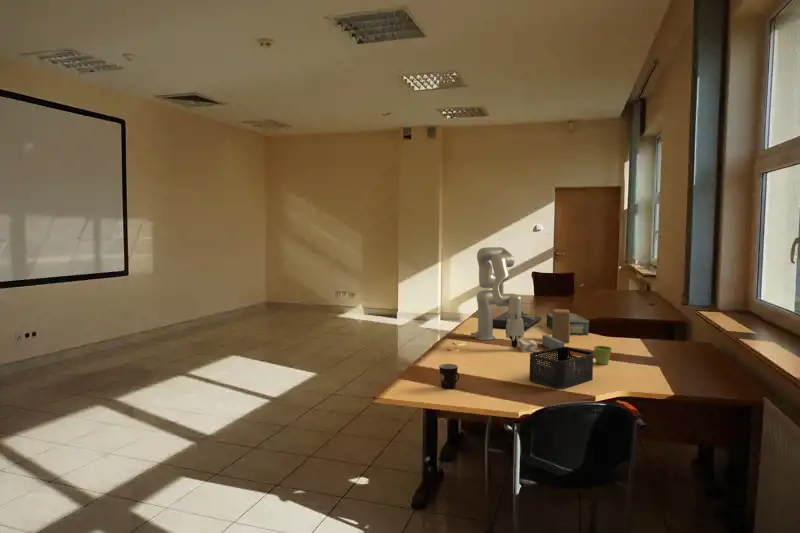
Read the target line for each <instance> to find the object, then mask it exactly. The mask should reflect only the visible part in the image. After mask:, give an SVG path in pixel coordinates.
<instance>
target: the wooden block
mask: <svg viewBox="0 0 800 533" xmlns="http://www.w3.org/2000/svg"><path fill="white" fill-rule="evenodd" d="M570 313H571V312H570V310H569V309H565V308H564V309H563V308H562V309H561V308H557V309H556V308H555V309H554V308H553V309H552V314H553V320H552V330H551V331H552V332H551V334H552V335H551V337H553V338H555V339H557V340H560V341H562V342H564V344H568V343H570V336H571V335H570Z"/></svg>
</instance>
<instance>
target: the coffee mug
mask: <svg viewBox="0 0 800 533" xmlns="http://www.w3.org/2000/svg"><path fill="white" fill-rule="evenodd" d="M438 367H439V376H440V377H439V378H440V386H441V389H443V388H444V390H447V389H451V390H454V388H456V385H457V382H458V381H459V380H460V375H459V374H460V373H458V368H459V366H458V365H457V364H453V363H442V364H439V366H438Z"/></svg>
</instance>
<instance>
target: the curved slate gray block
mask: <svg viewBox="0 0 800 533" xmlns="http://www.w3.org/2000/svg"><path fill="white" fill-rule="evenodd" d="M541 336H542V337H541V338H542V340H541V341H542V342H541V344H542V345H543V346H544V347H546V348H547V349H551V348H556V347H565V343H564V342H562V341H560V340H557V339H555V338H553V337H552V335H551V336H550V335H548V334H542V335H541Z"/></svg>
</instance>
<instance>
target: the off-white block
mask: <svg viewBox="0 0 800 533" xmlns="http://www.w3.org/2000/svg"><path fill="white" fill-rule="evenodd" d="M518 341H519V342H518V344H519V345H518V349H520V351H522V353H533V352H538V344H537V343H536V341H534V340H533V339H518Z"/></svg>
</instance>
